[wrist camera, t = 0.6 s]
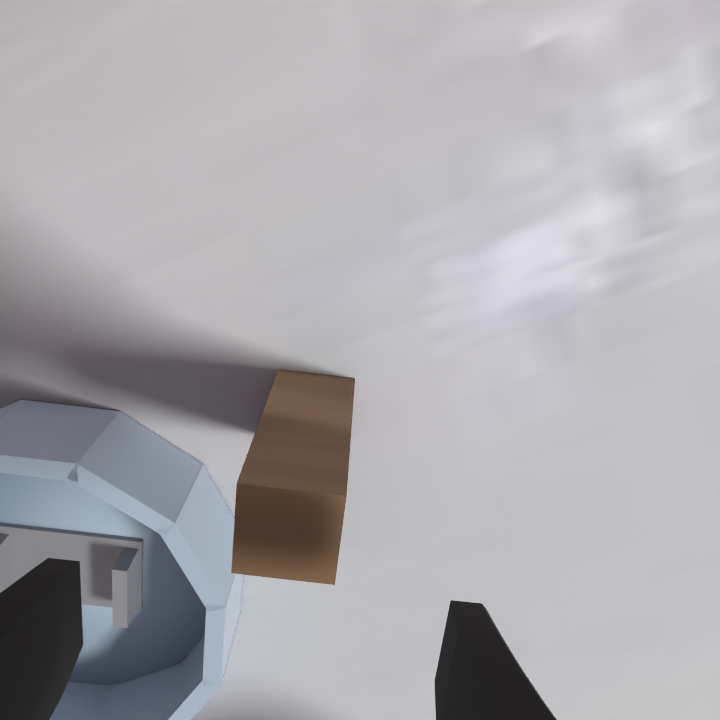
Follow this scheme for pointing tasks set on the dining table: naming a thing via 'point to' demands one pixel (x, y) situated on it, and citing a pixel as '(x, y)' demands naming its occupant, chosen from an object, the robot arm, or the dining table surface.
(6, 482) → the pale blue round tray
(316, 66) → the dining table surface
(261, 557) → the long wooden beam
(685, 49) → the dining table surface
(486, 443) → the dining table surface
